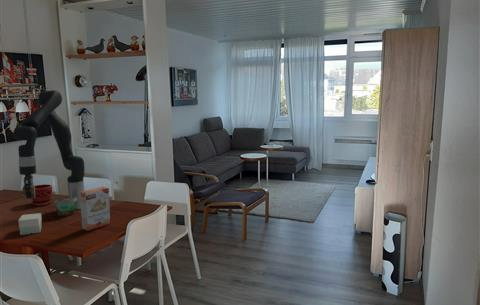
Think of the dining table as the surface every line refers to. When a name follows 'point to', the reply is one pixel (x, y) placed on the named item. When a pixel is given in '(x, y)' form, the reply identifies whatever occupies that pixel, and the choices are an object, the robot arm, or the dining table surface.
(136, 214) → the dining table surface
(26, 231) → the tower base
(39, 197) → the plant pot
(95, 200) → the cracker box
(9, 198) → the dining table surface
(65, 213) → the food container
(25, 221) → the tower top
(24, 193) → the walnut block
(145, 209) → the dining table surface
